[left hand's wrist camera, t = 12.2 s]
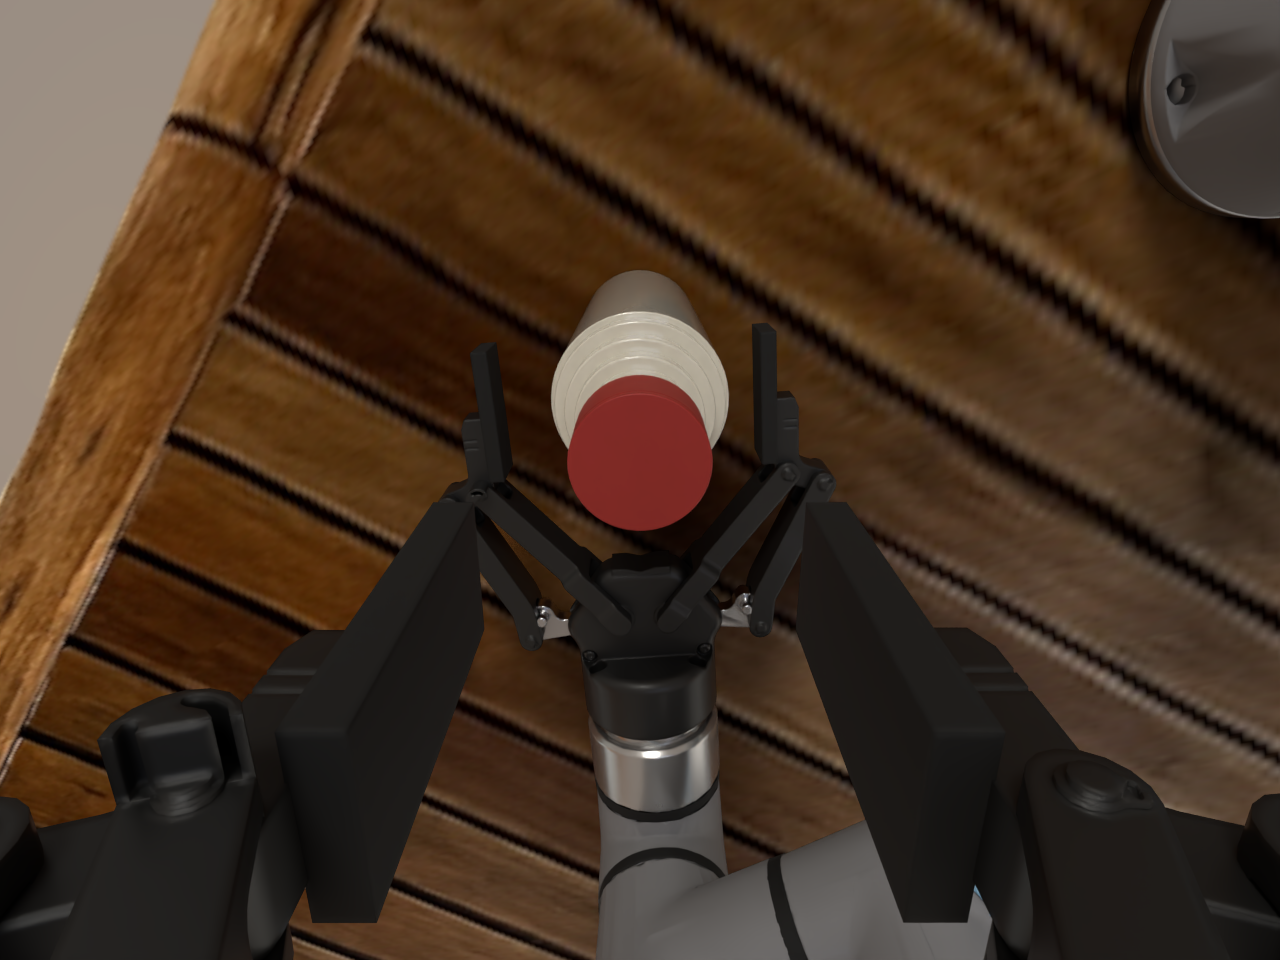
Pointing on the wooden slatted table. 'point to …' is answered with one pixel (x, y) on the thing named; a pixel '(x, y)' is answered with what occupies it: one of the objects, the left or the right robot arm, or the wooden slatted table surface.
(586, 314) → the bottle
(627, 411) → the cap
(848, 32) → the wooden slatted table surface
